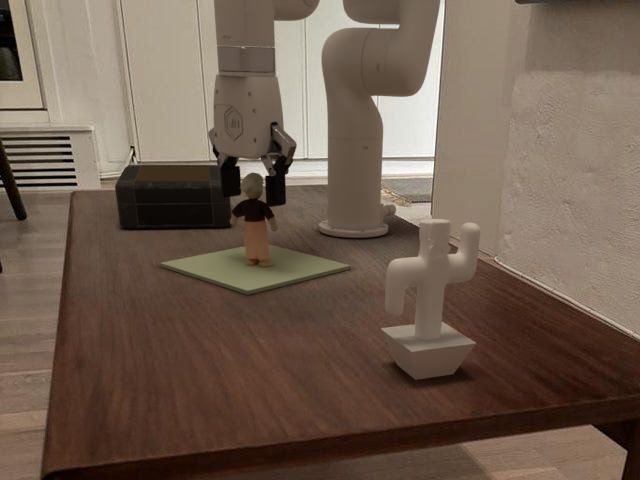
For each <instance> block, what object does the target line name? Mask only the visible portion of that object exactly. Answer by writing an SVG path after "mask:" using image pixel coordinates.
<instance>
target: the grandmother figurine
mask: <svg viewBox="0 0 640 480" xmlns="http://www.w3.org/2000/svg"><path fill="white" fill-rule="evenodd" d="M264 183H265V181H264V178H263V176H262V175H261V174H260V173H257V172H249V173H248V174H246V175H245V177H244V178H243V179H242V180H241V187H240V188H241V192H244V194H245V196H246V197H247V199H243V200H241V201H240V202H238V203H237V204H236V205H235V206H234V207H233V208H232V209H231V219H230V224H231V225H230V226H236V225H237V223H238V220H239V218H242V217H244V219H243V240H244V246H245V251H246V258H247V261H246V262H245V265H248V266H253V265H256V264H258V266H260V267H269V266H273V265H275V262H274V261H273V260H272V259H271V258H270V256H269V245H270V244H269V236H268V226H267V221H268V224H269V225H270V230H271V231H272V232H277V231H278V230H279V226H278V224H277V220H276V217H275V213H274V212H273V210H272V208H271V207H269V206H267V205H266V201H263V200H261V199H260V198H261V197H262V196H263V192H264V188H263V187H264V185H265V184H264ZM266 220H267V221H266ZM268 244H269V245H268ZM259 259H262V261H259Z"/></svg>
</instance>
